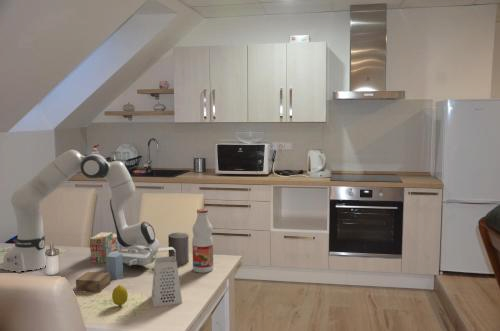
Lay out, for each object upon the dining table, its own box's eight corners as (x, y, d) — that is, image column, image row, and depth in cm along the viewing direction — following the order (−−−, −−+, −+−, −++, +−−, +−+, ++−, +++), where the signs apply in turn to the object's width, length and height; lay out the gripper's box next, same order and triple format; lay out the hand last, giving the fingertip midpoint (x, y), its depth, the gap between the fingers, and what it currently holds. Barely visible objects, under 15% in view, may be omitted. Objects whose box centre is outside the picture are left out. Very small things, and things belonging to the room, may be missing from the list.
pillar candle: (164, 262, 225) (163, 232, 224) (180, 258, 232) (180, 228, 231) (177, 267, 219) (176, 236, 217) (193, 262, 226) (192, 232, 224)
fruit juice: (217, 269, 215) (216, 209, 212) (201, 274, 208) (200, 212, 205) (205, 265, 221) (204, 206, 219) (188, 269, 215) (187, 209, 212)
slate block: (106, 278, 204) (105, 256, 203) (113, 274, 208) (112, 253, 207) (116, 279, 202) (115, 257, 201) (123, 276, 207) (122, 254, 206)
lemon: (114, 303, 176) (113, 282, 175) (129, 303, 176) (128, 282, 176) (111, 309, 170) (110, 288, 170) (126, 308, 171) (125, 287, 170)
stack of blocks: (109, 250, 247) (109, 227, 246) (121, 251, 246) (120, 228, 245) (90, 263, 226) (89, 238, 225) (103, 263, 225) (102, 238, 224)
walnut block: (76, 291, 189) (75, 279, 189) (88, 283, 199) (87, 271, 198) (99, 292, 188) (99, 280, 187) (110, 284, 198) (110, 272, 197)
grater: (182, 303, 176) (181, 251, 174) (153, 306, 173) (152, 253, 171) (178, 293, 186) (177, 244, 184) (151, 296, 183) (150, 246, 181)
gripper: (118, 245, 224) (99, 253, 212) (155, 249, 218) (138, 258, 205) (118, 258, 225) (100, 267, 212) (155, 262, 218) (139, 272, 205)
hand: (119, 262), depth 208 cm, fingers open, 8 cm apart
